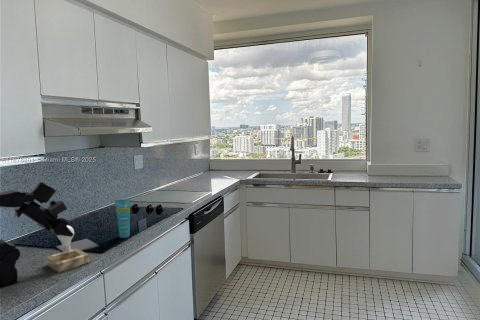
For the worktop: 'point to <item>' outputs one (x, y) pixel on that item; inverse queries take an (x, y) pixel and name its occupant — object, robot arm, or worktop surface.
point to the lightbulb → (66, 240)
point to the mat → (80, 245)
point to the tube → (123, 217)
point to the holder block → (67, 260)
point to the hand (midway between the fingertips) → (69, 233)
